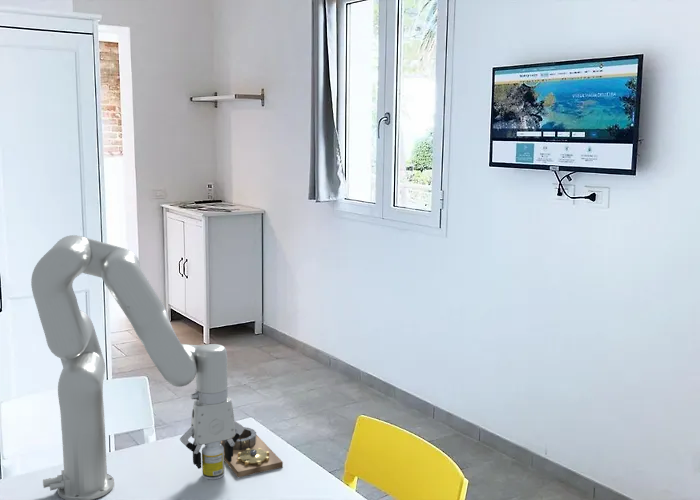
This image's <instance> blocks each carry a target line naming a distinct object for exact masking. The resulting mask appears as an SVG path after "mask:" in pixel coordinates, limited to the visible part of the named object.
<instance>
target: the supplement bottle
mask: <svg viewBox="0 0 700 500" xmlns="http://www.w3.org/2000/svg"><path fill="white" fill-rule="evenodd" d="M201 468H202V469H201V471H202V476H203V478H204V479H206V480H218V479H221V478H222V477H224V476H225V461H224V447H223V446H222V445H221V441H219V442H214V443H209V444H204V446H202V447H201Z"/></svg>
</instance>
